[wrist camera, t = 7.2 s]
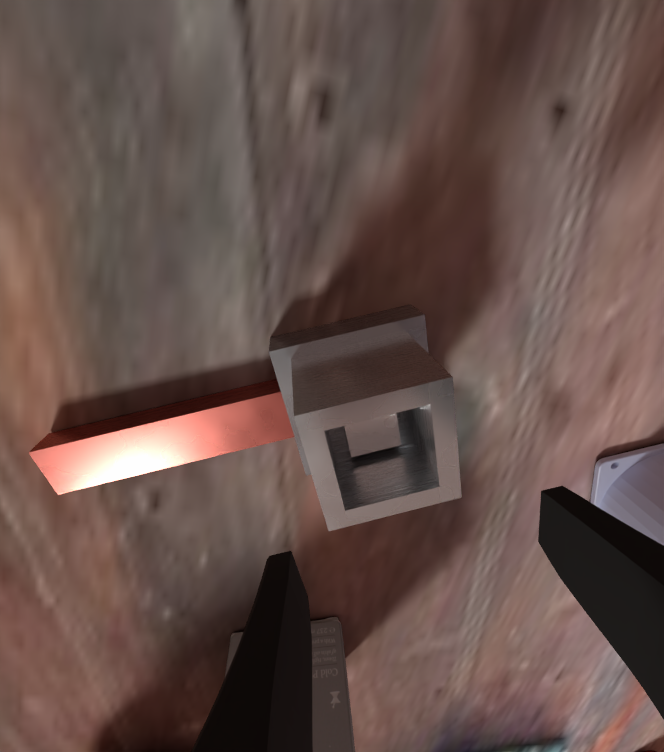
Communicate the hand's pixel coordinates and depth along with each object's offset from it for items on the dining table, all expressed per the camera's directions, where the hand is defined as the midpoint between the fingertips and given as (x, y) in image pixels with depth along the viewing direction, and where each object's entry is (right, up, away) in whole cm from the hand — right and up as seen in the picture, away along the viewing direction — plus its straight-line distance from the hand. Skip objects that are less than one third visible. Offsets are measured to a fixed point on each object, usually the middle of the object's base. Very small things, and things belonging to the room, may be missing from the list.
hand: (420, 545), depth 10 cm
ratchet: (-7, +3, +9) cm, 12 cm away
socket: (-1, +4, +7) cm, 8 cm away
